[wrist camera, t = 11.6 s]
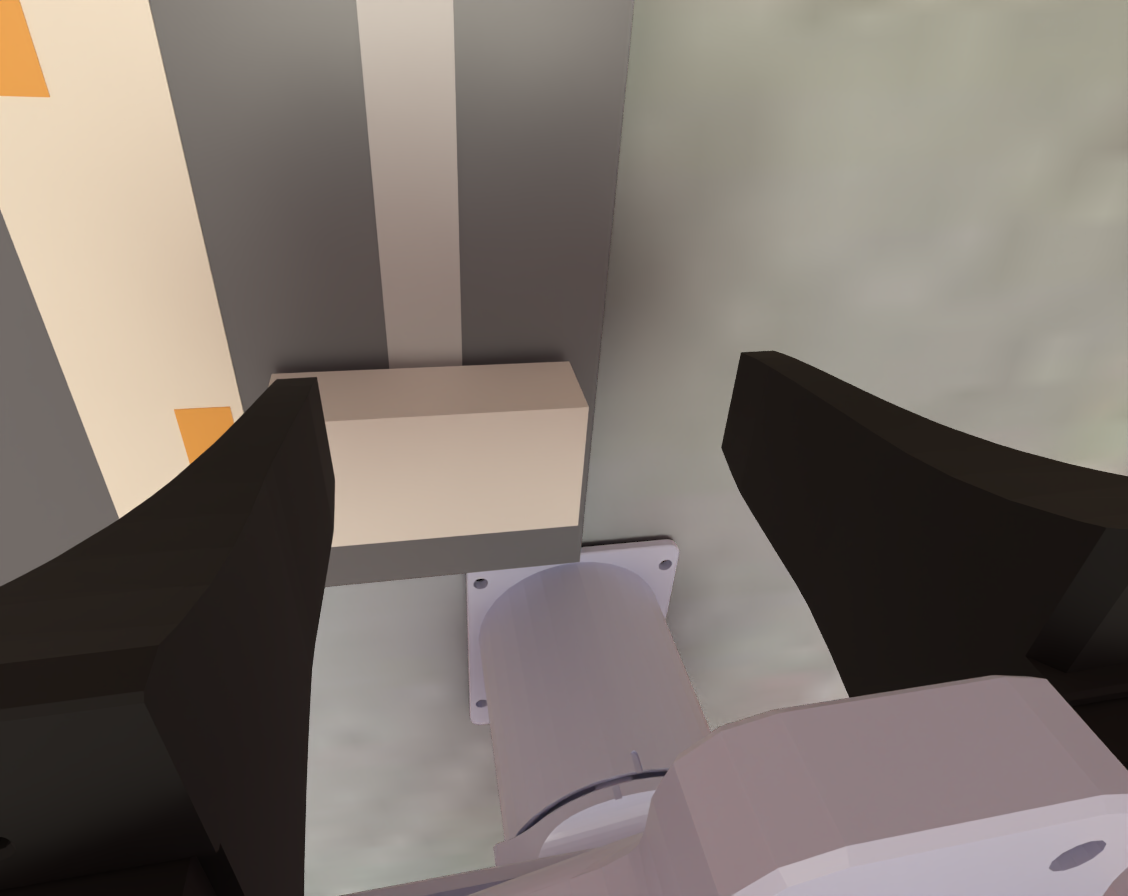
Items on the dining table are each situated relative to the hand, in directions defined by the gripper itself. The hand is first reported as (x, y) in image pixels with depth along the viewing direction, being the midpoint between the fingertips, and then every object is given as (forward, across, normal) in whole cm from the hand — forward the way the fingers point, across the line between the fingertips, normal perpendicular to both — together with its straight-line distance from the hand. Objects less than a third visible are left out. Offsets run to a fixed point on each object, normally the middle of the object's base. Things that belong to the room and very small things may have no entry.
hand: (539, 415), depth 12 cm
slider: (+7, +2, +5) cm, 9 cm away
